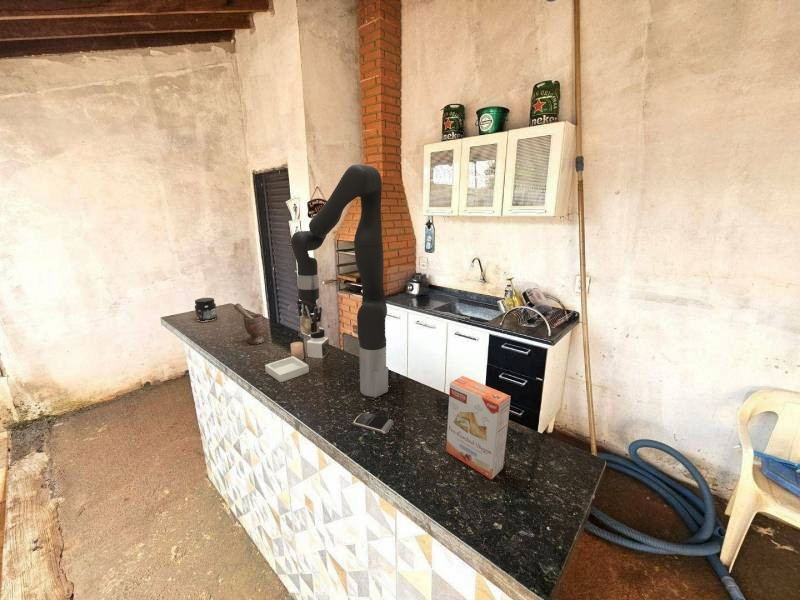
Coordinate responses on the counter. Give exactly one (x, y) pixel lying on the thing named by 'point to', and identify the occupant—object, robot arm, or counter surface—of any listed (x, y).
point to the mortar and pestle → (252, 325)
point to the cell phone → (373, 422)
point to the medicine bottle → (318, 345)
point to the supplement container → (205, 309)
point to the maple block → (307, 325)
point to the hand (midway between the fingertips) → (310, 329)
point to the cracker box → (477, 425)
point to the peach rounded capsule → (297, 350)
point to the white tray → (287, 369)
